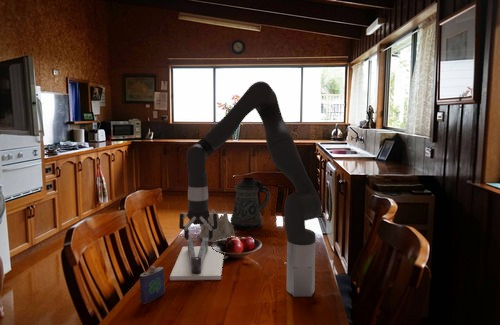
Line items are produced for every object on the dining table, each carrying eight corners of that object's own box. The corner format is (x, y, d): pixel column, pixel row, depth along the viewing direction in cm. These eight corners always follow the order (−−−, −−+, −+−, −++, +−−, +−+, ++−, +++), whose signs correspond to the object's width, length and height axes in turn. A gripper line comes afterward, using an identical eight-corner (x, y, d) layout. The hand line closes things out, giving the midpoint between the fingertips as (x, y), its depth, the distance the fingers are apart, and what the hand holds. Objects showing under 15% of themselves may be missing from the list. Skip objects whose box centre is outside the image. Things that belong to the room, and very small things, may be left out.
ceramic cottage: (238, 239, 181) (236, 207, 180) (202, 244, 177) (200, 211, 175) (230, 231, 196) (228, 202, 195) (197, 236, 192) (195, 205, 190)
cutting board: (220, 279, 139) (220, 275, 139) (170, 280, 139) (170, 276, 139) (224, 249, 169) (224, 246, 169) (182, 249, 169) (182, 246, 168)
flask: (161, 291, 131) (160, 260, 129) (167, 293, 129) (166, 262, 127) (138, 302, 123) (137, 270, 122) (144, 305, 121) (143, 272, 120)
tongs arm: (195, 269, 144) (195, 257, 143) (190, 270, 143) (189, 257, 143) (192, 248, 165) (192, 237, 165) (187, 249, 165) (187, 238, 164)
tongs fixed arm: (202, 273, 140) (201, 260, 139) (190, 274, 140) (190, 260, 139) (208, 248, 166) (208, 236, 165) (198, 248, 166) (198, 237, 165)
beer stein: (225, 223, 207) (224, 177, 203) (257, 218, 216) (257, 174, 212) (239, 232, 192) (239, 182, 189) (273, 226, 201) (273, 178, 198)
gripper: (177, 200, 143) (178, 242, 145) (216, 200, 143) (216, 242, 145) (180, 195, 150) (181, 236, 153) (217, 195, 150) (218, 236, 153)
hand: (198, 239), depth 149 cm, fingers open, 8 cm apart
